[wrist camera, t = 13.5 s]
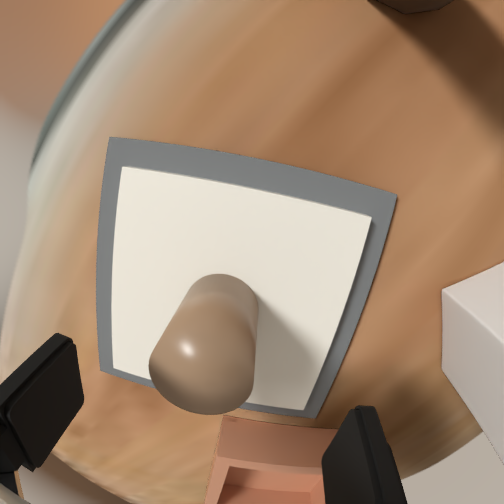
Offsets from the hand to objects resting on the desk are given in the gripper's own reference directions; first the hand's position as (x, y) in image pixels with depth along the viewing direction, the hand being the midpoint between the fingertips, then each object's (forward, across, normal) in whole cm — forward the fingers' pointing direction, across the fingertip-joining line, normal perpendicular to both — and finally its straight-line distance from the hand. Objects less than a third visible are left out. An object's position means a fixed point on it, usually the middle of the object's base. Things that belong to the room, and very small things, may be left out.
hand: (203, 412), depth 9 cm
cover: (+9, +1, 0) cm, 9 cm away
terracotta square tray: (+9, -6, +15) cm, 19 cm away
